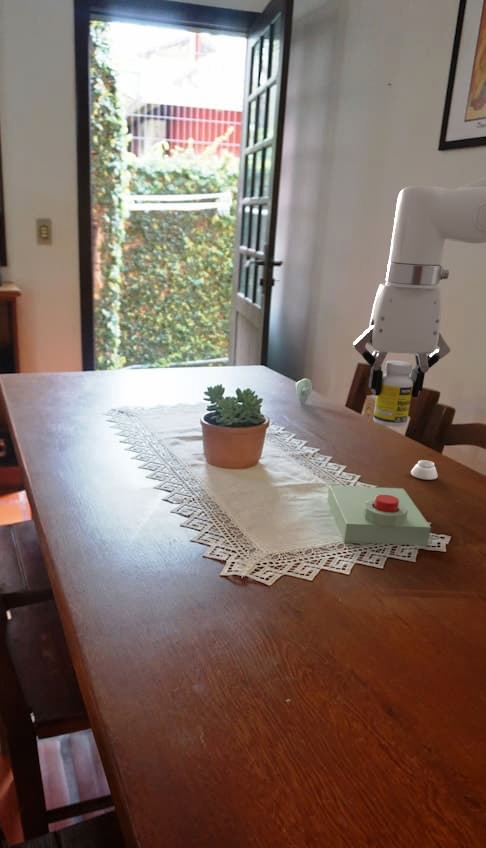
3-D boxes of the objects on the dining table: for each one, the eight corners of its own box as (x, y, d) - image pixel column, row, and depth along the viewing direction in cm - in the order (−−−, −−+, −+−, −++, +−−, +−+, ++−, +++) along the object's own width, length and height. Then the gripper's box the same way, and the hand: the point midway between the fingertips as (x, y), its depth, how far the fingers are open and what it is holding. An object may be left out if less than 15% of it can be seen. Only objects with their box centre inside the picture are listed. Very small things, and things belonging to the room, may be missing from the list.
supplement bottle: (396, 429, 108) (406, 367, 104) (366, 421, 111) (374, 361, 107) (412, 423, 112) (422, 363, 108) (383, 416, 115) (391, 357, 111)
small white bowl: (411, 479, 133) (438, 482, 132) (414, 465, 131) (441, 468, 131) (409, 471, 137) (435, 473, 136) (412, 457, 136) (438, 459, 135)
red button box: (400, 505, 121) (405, 478, 119) (428, 546, 106) (433, 517, 104) (327, 502, 120) (330, 475, 118) (344, 543, 105) (348, 513, 103)
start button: (394, 505, 108) (395, 494, 108) (400, 514, 105) (401, 503, 104) (371, 504, 108) (373, 494, 108) (376, 513, 105) (378, 503, 104)
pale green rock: (290, 399, 186) (292, 375, 184) (304, 399, 187) (307, 375, 184) (301, 407, 179) (303, 382, 176) (315, 407, 180) (318, 382, 177)
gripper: (460, 276, 106) (440, 391, 113) (350, 271, 106) (336, 386, 113) (478, 281, 99) (454, 403, 106) (360, 275, 99) (345, 397, 106)
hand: (394, 393), depth 110 cm, fingers closed on supplement bottle, 5 cm apart
